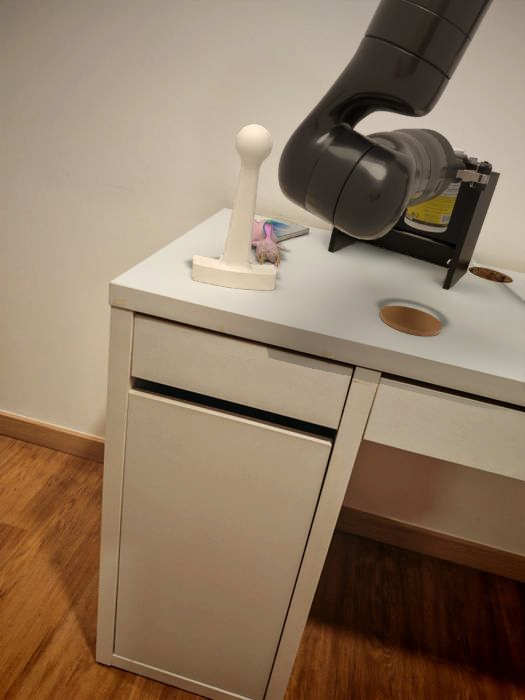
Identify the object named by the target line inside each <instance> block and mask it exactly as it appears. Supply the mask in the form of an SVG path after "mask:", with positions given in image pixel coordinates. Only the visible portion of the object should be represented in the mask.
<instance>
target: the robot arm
mask: <svg viewBox="0 0 525 700" xmlns="http://www.w3.org/2000/svg"><path fill="white" fill-rule="evenodd" d="M494 1H495V0H380V1H379V3H378V5H377V6H376V9H375V11H374V13H373V15H372V17H371V19H370V22H369V24H368V26H367V28H366V30H365V31H364V34H363V36H362V39H361V41H360V42H359V45H358V46H357V49H356V51H355V52H354V54H353V56H352V57H351V59H350V60H349V62H348V63H347V65H346V66H345V67H344V69H343V70H342V71H341V72H340V74H339V76H338V77H337V78H336V80H335V81H334V82H333V84H331V85H330V87H329V88H328V90H327V92H326V93H325V94H324V95H323V96H322V97H321V99H320V100H319V101H318V103H316V104H315V106H314V107H313V108H312V110H310V112H309V113H308V114H307V115H306V117H305V118H304V119H303V120H302V121H301V123H299V125H298V126H297V127H296V128H295V130H294V131H293V132H292V133H291V135H290V136H289V138H288V140H287V142H286V143H285V145H284V147H283V149H282V152H281V154H280V157H279V162H278V165H277V166H278V167H277V180H278V186H279V189H280V191H281V193H282V194H283V196H284V197H285V198H286V199H287V200H288V201H290V202H291V203H292V204H293V205H296V206H297V207H299V208H301V209H303V210H304V211H306V212H308V213H310V214H312V215H313V216H315V217H317V218H318V219H320V220H322V221H324V222H326V223H327V224H329V225H331V226H332V227H333V226H334V227H336V228H337V229H339V230H341V231H343V232H344V233H346V234H348V235H350V236H353V237H355V238H359V239H365V240H372V239H377V238H380V237H382V236H384V235H385V234H386V233H388V232H389V231H390V230H391V229H392V228H393V227H394V226H395V224H396V223H397V222H398V220H399V219H400V217H401V216H402V214H403V212H404V211H405V209H406V208H409V207H413V206H416V205H419V204H421V203H424V202H427V201H430V200H432V199H434V198H436V197H438V196H439V195H440V194H442V193H443V192H444V191H445V190H446V189H447V188H448V187H449V185H458V184H459V183H460V182H461V181H464V182H467V181H471V183H470V187H474V189H476V191H479V192H481V191H485V189H486V186H487V183H488V180H489V177H490V174H491V171H493V164H492V163H491V162H489V161H487V160H484V161H478V160H479V159H478V158H477V157H473V156H470V157H468V154H465V153H464V154H462V153H458V152H454V150H453V148H452V147H453V146H452V144H451V142H450V141H449V140H448V139H447V137H445V136H444V135H443V134H442V133H440V132H438V131H436V130H433V129H430V128H397V129H393V130H391V131H387V130H385V131H377V132H372V133H370V134H366V135H365V134H363V133H361V132H359V131H357V130H355V128H356V127H357V126H358V124H359V123H360V122H362V121H363V120H364V119H365V118H367V117H368V116H369V115H372V114H374V113H376V112H385V113H386V112H387V113H391V114H396V115H400V116H405V117H411V118H422V117H425V116H427V115H429V114H430V113H431V112H432V111H433V110H434V109H435V107H436V106H437V104H438V102H439V101H440V100H441V98H442V96H443V94H444V92H445V90H446V89H447V87H448V85H449V84H450V83H449V81H451V79H452V78H453V76H454V74H455V72H456V70H457V69H458V67H459V65H460V63H461V61H462V59H463V57H464V56H465V54H466V52H467V50H468V48H469V46H470V45H471V43H472V41H473V40H474V38H475V35H476V34H477V32H478V30H479V28H480V26H481V24H482V22H483V20H484V19H485V17H486V15H487V14H488V11H489V10H490V7H491V6H492V4H493V2H494Z"/></svg>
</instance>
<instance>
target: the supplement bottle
mask: <svg viewBox="0 0 525 700" xmlns="http://www.w3.org/2000/svg"><path fill="white" fill-rule="evenodd" d="M452 148H453V150H454V152H458V153H462V154H465V150H464V149H463V148H459V147H456V146H452ZM460 184H461V182H460V183H459V184H458V185H449V187H448V188H447V189H446V190H445V191H444V192H443V193H442V194H440V195H439V196H438V197H436V198H434V199H432V200H430V201H427V202H424V203H421V204H419V205H416V206H413V207H409V208H407V211H406V215H405V222H406V223H407V224H408V225H410V226H412V227H414V228H417V229H420V230H424V231H430V232H444V231H446V229H447V226H448V223H449V220H450V217H451V213H452V210H453V207H454V204H455V200H456V197H457V194H458V191H459V187H460Z"/></svg>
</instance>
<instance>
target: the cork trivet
mask: <svg viewBox="0 0 525 700" xmlns="http://www.w3.org/2000/svg"><path fill="white" fill-rule="evenodd" d="M379 319H381V321H382V322H383V323H385V324H386V325H387V326H389V327H390V328H392V329H394V330H397V331H399V332H402V333H404V334H409V335H413V336H419V337H433V336H437V335H439V334H440V333H441V331H442V329H443V324H442V322H441V321H440V320H439V319H438V318H437V317H435V316H434V315H432V314H430V313H428V312H426V311H423V310H421V309H418V308H414V307H410V306H404V305H387V306H384V307H382V308H381V309H380V312H379Z"/></svg>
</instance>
